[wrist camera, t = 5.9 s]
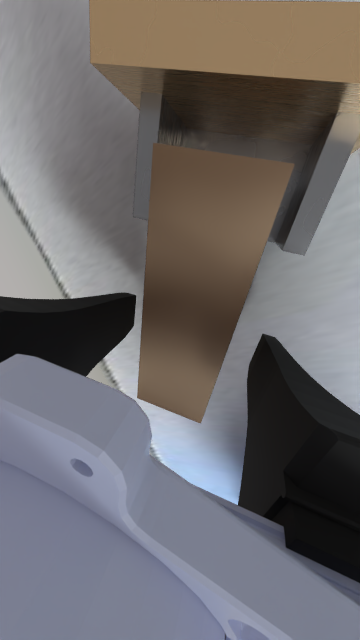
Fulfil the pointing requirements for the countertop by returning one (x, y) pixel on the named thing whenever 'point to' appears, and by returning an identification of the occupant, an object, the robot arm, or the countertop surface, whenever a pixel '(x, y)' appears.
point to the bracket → (240, 89)
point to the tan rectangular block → (200, 266)
